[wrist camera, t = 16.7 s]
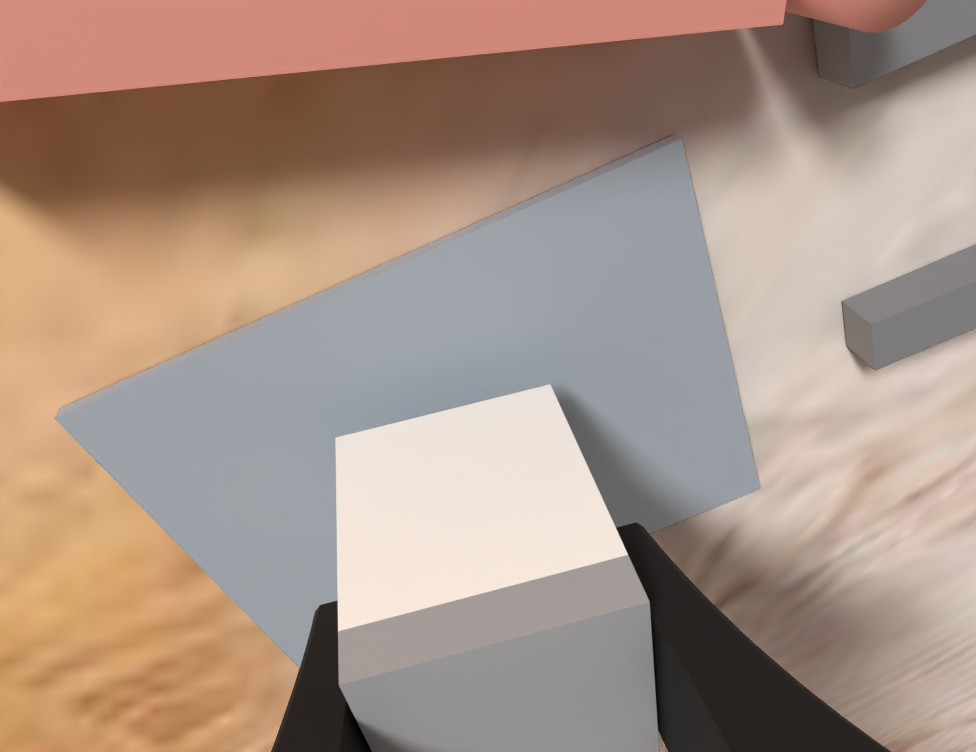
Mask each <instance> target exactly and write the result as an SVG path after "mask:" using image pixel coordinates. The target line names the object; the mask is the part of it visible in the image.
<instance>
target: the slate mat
mask: <svg viewBox="0 0 976 752" xmlns="http://www.w3.org/2000/svg"><path fill="white" fill-rule="evenodd" d="M549 384H550V385H551V387H552V389H553V391H554V393H555V396H556V398H557V400H558V402H559V404H560V407H561V409H562V411H563V413H564V415H565V418H566V420H567V422H568V424H569V426H570V429H571V431H572V433H573V435H574V437H575V439H576V442H577V444H578V446H579V448H580V450H581V453H582V455H583V457H584V459H585V461H586V464H587V466H588V468H589V470H590V472H591V475H592V477H593V479H594V481H595V483H596V485H597V488H598V490H599V492H600V494H601V496H602V499H603V501H604V503H605V505H606V507H607V510H608V512H609V514H610V516H611V518H612V521H613V523H614V525H615V527H616V528H617V527H620V526H624V525H628V524H632V523H638V524H640V525H642V526H643V527H644V528H645V529H646V531H647V532H648V533H649V534H651V533H654V532H656V531H659V530H661V529H664V528H666V527H668V526H671V525H673V524H676V523H678V522H681V521H683V520H685V519H688V518H690V517H693V516H695V515H698V514H700V513H703V512H705V511H707V510H710V509H712V508H715V507H717V506H720V505H722V504H724V503H727V502H729V501H732V500H734V499H737V498H739V497H741V496H744V495H746V494H749V493H751V492H754V491H756V490H758V489H760V485H759V481H758V476H757V472H756V467H755V463H754V458H753V454H752V450H751V445H750V441H749V436H748V432H747V427H746V423H745V418H744V414H743V409H742V405H741V400H740V396H739V391H738V387H737V382H736V378H735V373H734V369H733V364H732V360H731V355H730V351H729V346H728V342H727V337H726V333H725V328H724V324H723V319H722V315H721V310H720V306H719V301H718V297H717V292H716V288H715V284H714V279H713V275H712V270H711V266H710V261H709V257H708V252H707V248H706V243H705V239H704V234H703V230H702V225H701V221H700V216H699V212H698V207H697V203H696V198H695V194H694V189H693V185H692V180H691V176H690V171H689V167H688V162H687V158H686V153H685V149H684V144H683V140H682V138H680V137H679V136H678V135H676V134H674V135H672V136H670V137H667V138H665V139H663V140H661V141H658V142H656V143H654V144H652V145H649V146H647V147H645V148H643V149H640V150H638V151H636V152H634V153H631V154H629V155H627V156H625V157H622V158H620V159H618V160H616V161H614V162H611V163H609V164H607V165H605V166H602V167H600V168H598V169H596V170H593V171H591V172H589V173H587V174H584V175H582V176H580V177H578V178H575V179H573V180H571V181H569V182H566V183H564V184H562V185H560V186H557V187H555V188H553V189H551V190H548V191H546V192H544V193H542V194H539V195H537V196H535V197H533V198H531V199H528V200H526V201H524V202H522V203H519V204H517V205H515V206H513V207H510V208H508V209H506V210H504V211H501V212H499V213H497V214H495V215H492V216H490V217H488V218H486V219H483V220H481V221H479V222H477V223H474V224H472V225H470V226H468V227H465V228H463V229H461V230H459V231H456V232H454V233H452V234H450V235H448V236H445V237H443V238H441V239H439V240H436V241H434V242H432V243H430V244H427V245H425V246H423V247H421V248H418V249H416V250H414V251H412V252H409V253H407V254H405V255H403V256H400V257H398V258H396V259H394V260H391V261H389V262H387V263H385V264H382V265H380V266H378V267H376V268H373V269H371V270H369V271H367V272H365V273H362V274H360V275H358V276H356V277H353V278H351V279H349V280H347V281H344V282H342V283H340V284H338V285H335V286H333V287H331V288H329V289H326V290H324V291H322V292H320V293H317V294H315V295H313V296H311V297H308V298H306V299H304V300H302V301H299V302H297V303H295V304H293V305H290V306H288V307H286V308H284V309H282V310H279V311H277V312H275V313H273V314H270V315H268V316H266V317H264V318H261V319H259V320H257V321H255V322H252V323H250V324H248V325H246V326H243V327H241V328H239V329H237V330H234V331H232V332H230V333H228V334H225V335H223V336H221V337H219V338H216V339H214V340H212V341H210V342H207V343H205V344H203V345H201V346H199V347H196V348H194V349H192V350H190V351H187V352H185V353H183V354H181V355H178V356H176V357H174V358H172V359H169V360H167V361H165V362H163V363H160V364H158V365H156V366H154V367H151V368H149V369H147V370H145V371H142V372H140V373H138V374H136V375H133V376H131V377H129V378H127V379H124V380H122V381H120V382H118V383H116V384H113V385H111V386H109V387H107V388H104V389H102V390H100V391H98V392H95V393H93V394H91V395H89V396H86V397H84V398H82V399H80V400H77V401H75V402H73V403H71V404H68V405H66V406H64V407H62V408H60V409H59V410H58V412H57V414H56V416H55V419H56V420H57V421H58V422H59V423H60V424H61V425H62V426H63V427H64V428H65V429H66V430H67V432H68V433H69V434H70V435H71V436H72V437H73V438H74V439H75V440H76V441H77V442H78V443H79V444H80V445H81V446H82V447H83V448H84V449H85V450H86V451H87V452H88V453H89V454H90V455H91V456H92V457H93V458H94V459H95V460H96V461H97V462H98V463H99V464H100V465H101V466H102V467H103V468H104V469H105V470H106V471H107V472H108V473H109V474H110V475H111V476H112V477H113V478H114V480H115V481H116V482H117V483H118V484H119V485H120V486H121V487H122V488H123V489H124V490H125V491H126V492H127V493H128V494H129V495H130V496H131V497H132V498H133V499H134V500H135V501H136V502H137V503H138V504H139V505H140V506H141V507H142V508H143V509H144V510H145V511H146V512H147V513H148V514H149V515H150V516H151V517H152V518H153V519H154V520H155V521H156V522H157V523H158V524H159V525H160V527H161V528H162V529H163V530H164V531H165V532H166V533H167V534H168V535H169V536H170V537H171V538H172V539H173V540H174V541H175V542H176V543H177V544H178V545H179V546H180V547H181V548H182V549H183V550H184V551H185V552H186V553H187V554H188V555H189V556H190V557H191V558H192V559H193V560H194V561H195V562H196V563H197V564H198V565H199V566H200V567H201V568H202V569H203V570H204V571H205V572H206V573H207V575H208V576H209V577H210V578H211V579H212V580H213V581H214V582H215V583H216V584H217V585H218V586H219V587H220V588H221V589H222V590H223V591H224V592H225V593H226V594H227V595H228V596H229V597H230V598H231V599H232V600H233V601H234V602H235V603H236V604H237V605H238V606H239V607H240V608H241V609H242V610H243V611H244V612H245V613H246V614H247V615H248V616H249V617H250V618H251V619H252V620H253V622H254V623H255V624H256V625H257V626H258V627H259V628H260V629H261V630H262V631H263V632H264V633H265V634H266V635H267V636H268V637H269V638H270V639H271V640H272V641H273V642H274V643H275V644H276V645H277V646H278V647H279V648H280V649H281V650H282V651H283V652H284V653H285V654H286V655H287V656H288V657H289V658H290V659H291V660H292V661H293V662H294V663H295V664H296V665H297V666H298V667H299V669H300V666H301V662H302V659H303V656H304V652H305V649H306V645H307V641H308V638H309V634H310V630H311V626H312V622H313V618H314V614H315V611H316V609H317V608H318V607H319V606H320V605H322V604H326V603H330V602H333V601H337V600H338V592H337V519H336V446H335V438H336V437H340V436H344V435H348V434H352V433H356V432H360V431H364V430H368V429H372V428H376V427H380V426H384V425H388V424H393V423H397V422H401V421H405V420H409V419H413V418H417V417H421V416H425V415H429V414H433V413H437V412H441V411H445V410H449V409H453V408H457V407H461V406H465V405H469V404H473V403H477V402H481V401H485V400H489V399H493V398H497V397H501V396H505V395H509V394H513V393H517V392H521V391H525V390H529V389H533V388H537V387H541V386H545V385H549Z"/></svg>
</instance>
